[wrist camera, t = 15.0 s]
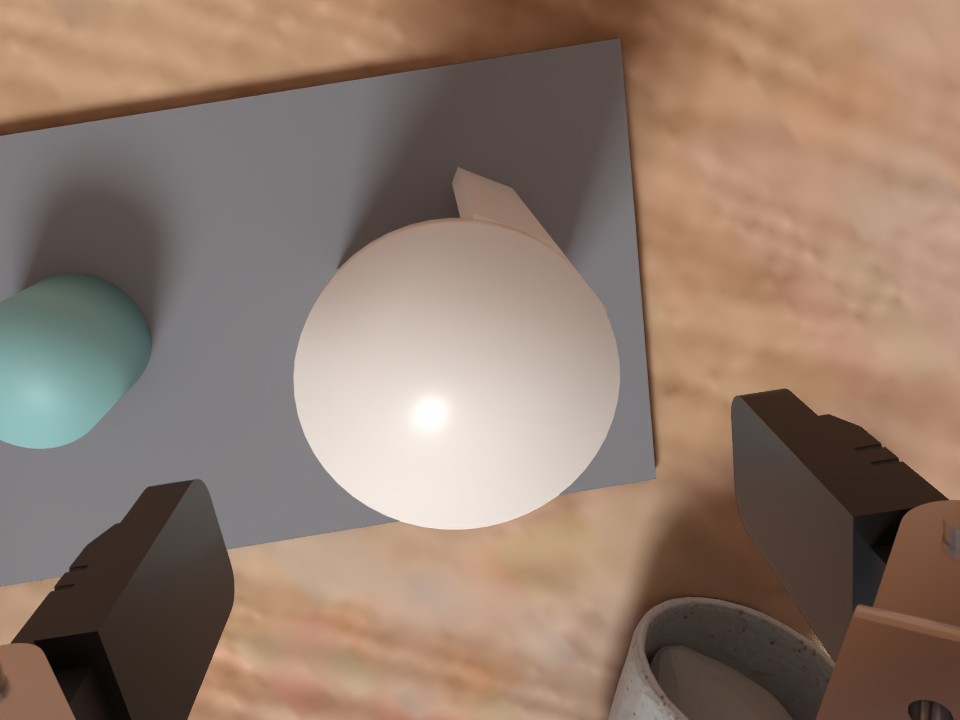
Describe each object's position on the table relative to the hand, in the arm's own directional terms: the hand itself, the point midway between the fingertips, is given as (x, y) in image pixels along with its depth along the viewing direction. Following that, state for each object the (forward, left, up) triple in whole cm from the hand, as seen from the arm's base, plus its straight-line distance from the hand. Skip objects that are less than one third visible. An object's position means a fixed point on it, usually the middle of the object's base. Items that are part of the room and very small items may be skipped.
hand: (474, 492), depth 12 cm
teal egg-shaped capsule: (+11, 0, -13) cm, 17 cm away
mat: (+6, +1, -13) cm, 15 cm away
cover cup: (0, 0, -13) cm, 13 cm away
